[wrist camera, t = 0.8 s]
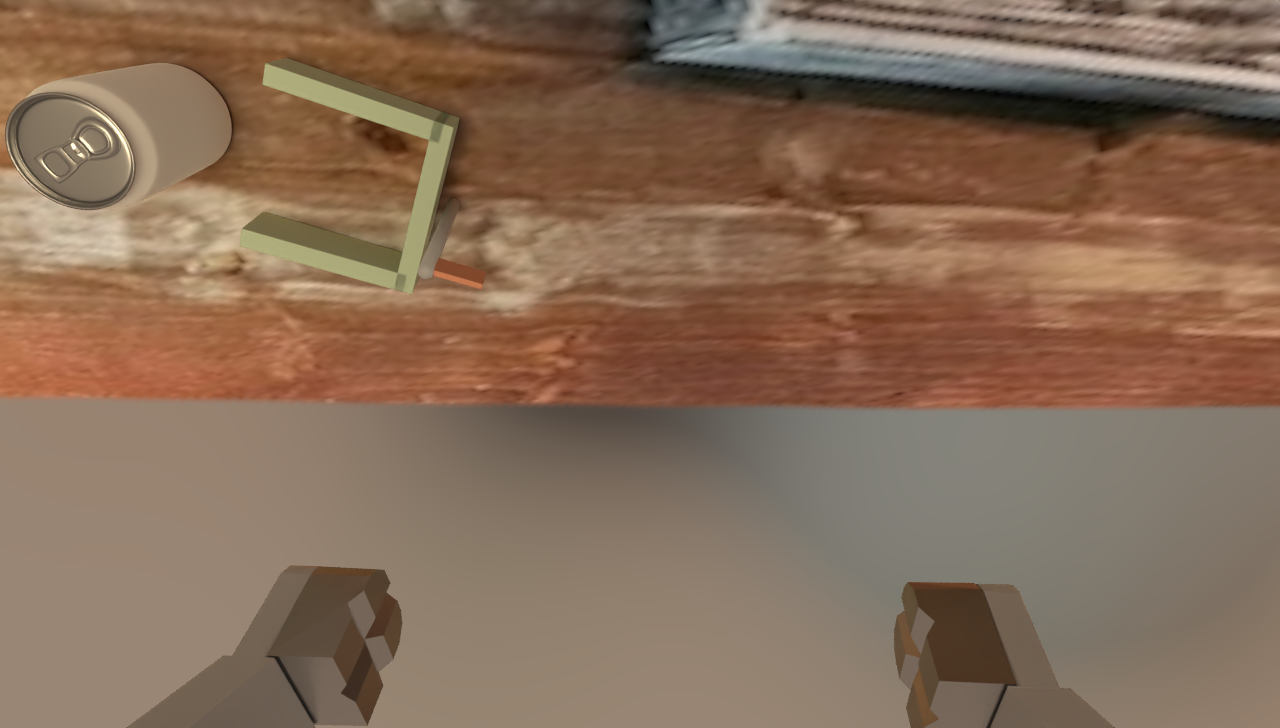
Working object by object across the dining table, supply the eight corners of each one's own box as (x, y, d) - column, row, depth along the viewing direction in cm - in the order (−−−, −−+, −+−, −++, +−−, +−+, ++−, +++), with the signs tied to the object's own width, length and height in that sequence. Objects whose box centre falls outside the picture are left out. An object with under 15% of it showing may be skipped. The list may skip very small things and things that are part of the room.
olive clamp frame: (260, 228, 50) (167, 305, 37) (287, 58, 45) (191, 81, 33) (475, 290, 54) (455, 378, 41) (519, 138, 49) (511, 186, 37)
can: (257, 137, 47) (174, 178, 37) (177, 186, 48) (73, 241, 37) (182, 41, 44) (68, 55, 34) (98, 95, 45) (-39, 126, 34)
